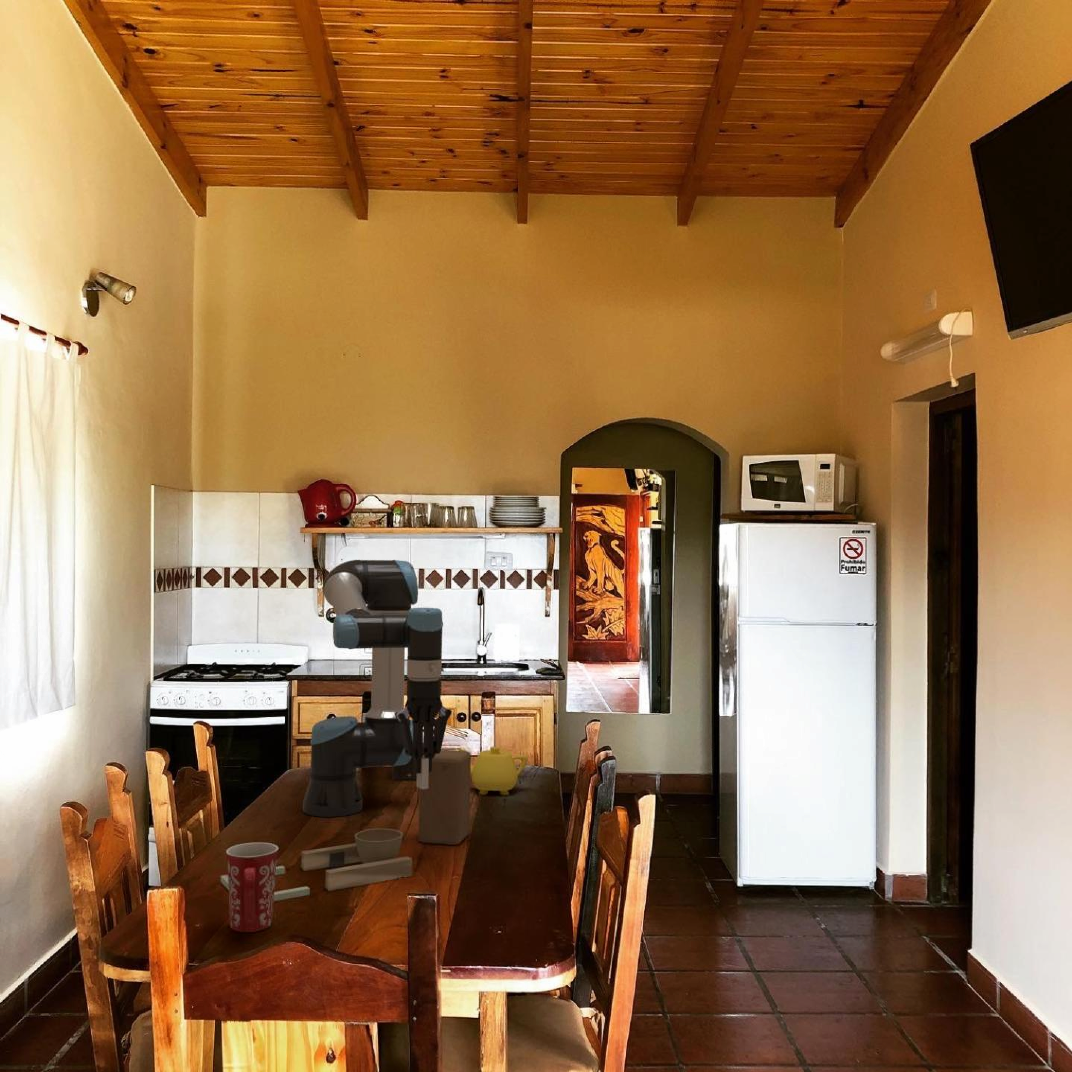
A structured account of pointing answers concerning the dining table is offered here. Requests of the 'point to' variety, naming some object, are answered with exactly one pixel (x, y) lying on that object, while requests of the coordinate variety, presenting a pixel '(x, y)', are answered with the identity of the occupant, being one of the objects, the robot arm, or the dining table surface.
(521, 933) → the dining table surface
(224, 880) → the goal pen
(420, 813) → the wooden block
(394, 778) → the manual coffee grinder
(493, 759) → the teapot
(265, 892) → the mug
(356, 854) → the twin plank rack
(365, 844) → the flower pot
